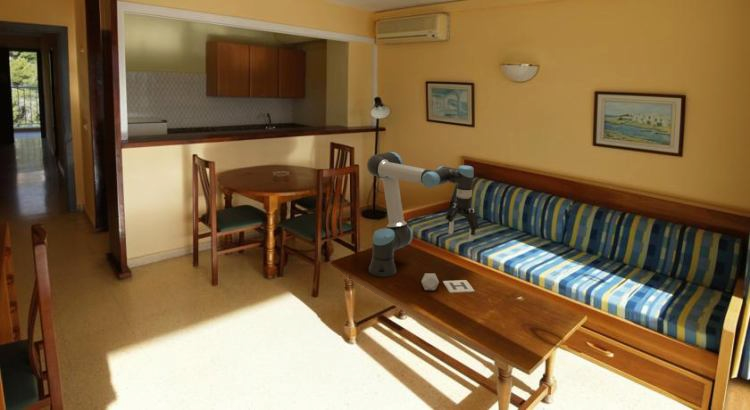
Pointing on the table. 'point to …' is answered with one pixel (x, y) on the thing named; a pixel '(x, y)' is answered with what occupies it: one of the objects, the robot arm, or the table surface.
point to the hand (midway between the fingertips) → (460, 237)
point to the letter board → (458, 286)
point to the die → (430, 281)
